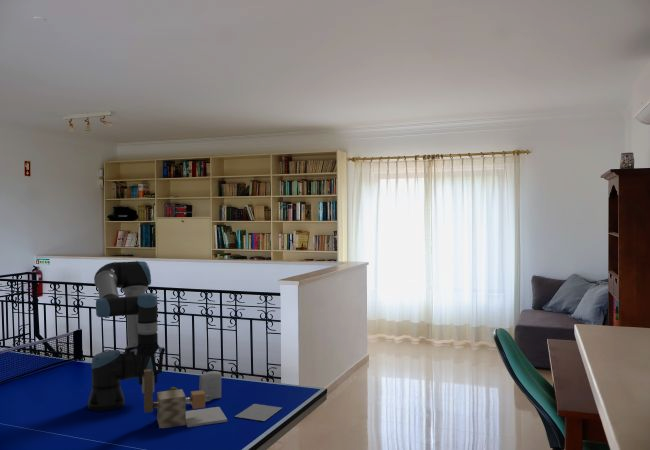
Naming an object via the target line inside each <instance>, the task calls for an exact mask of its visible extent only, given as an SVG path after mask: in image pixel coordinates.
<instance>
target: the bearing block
mask: <svg viewBox="0 0 650 450" xmlns="http://www.w3.org/2000/svg"><path fill="white" fill-rule="evenodd" d="M186 398H187V396H186V394H185V392H184V390H183V388H181V389H180V388H179V389H178V390H171V391H157V392H156V401H159V407H158V408H156V413H157V414H156V416H157V417H156V421H157V424H158V427H159V429H160V428H161V429H166V428H167V429H168V428H174V427H179V426H187V425H186V411H187V409H186V407H187V406H186V405H187V404H186Z"/></svg>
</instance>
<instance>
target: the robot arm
mask: <svg viewBox="0 0 650 450" xmlns="http://www.w3.org/2000/svg"><path fill="white" fill-rule="evenodd" d="M93 277H94V278H93V280H94V281H93V282H94V286H95V287H96V288H97V291H98V296H99V298H97V299H96V301H95V313H96V314H95V315H96V317H97V318H109V317H112V318H114V317H121V316H122V317H123V316H126V331H127V346H126V347H124V352H121V351H120V350H119V349H110V350H105V351H101V352H98V353H97V354H95V355H94V356H93V357H92V359H91V392H90V394H89V398H88V401H87V409H89V411H93V412H94V411H96V412H105V410H106V411H112V410H115V409H118V408H121V407H123V406H124V405H125V403H126V402H125V401H126V398H125V395H124V392H123V390H122V388H121V381H125V380H131V379H138V384H139V385H141V394H144V369H152V380H153V393H155V384H157V383H158V375H159V374H162V372H163V363H164V362H163V361H164V354H165V351H166V349H165V347H164V346H160V345H159V341H158V337H159V335H158V334H159V333H158V303H159V301H158V295H157V294H156V293H155V292H154V293H152V292H147V291H148V289H149V286H151V284H152V276H151V270H150V265H149V264H148V263H147V262H146V261H144V260H143V261H139V260H136V261H135V260H133V261H113V262H109V263H106V264H104V265H102V266H101V267H100V268H99V269H98V270H97V271H96V272H95V275H94V276H93ZM118 287H119V288H121V291H122V292H123V293H124V294H125V296H120V295H119V291H118ZM146 292H147V293H146ZM157 351H158V352H159V353H158V354H159V355H158V356H159V357H158V369H157V366H156V365H157V364H156V359H157V358H156V357H157V354H156V353H157Z"/></svg>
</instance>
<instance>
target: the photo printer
mask: <svg viewBox="0 0 650 450" xmlns="http://www.w3.org/2000/svg"><path fill="white" fill-rule="evenodd" d="M221 373H222V372H220V371H217V370H216V371H215V370H211V371H210V370H209V371H206V372H204V373H202V374H200V375H199V384H198V385H199V387H198V389H199V390H198V391H200V390H203V391H204V393H205V395H211V400H216V399H221V398H222V374H221Z"/></svg>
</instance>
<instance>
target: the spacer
mask: <svg viewBox="0 0 650 450" xmlns="http://www.w3.org/2000/svg"><path fill="white" fill-rule="evenodd" d="M190 397H192V403H190V406H192V410H197V409H204V408H206V401H205V393H204V391H203V390H200V391H199V390H192V391H190Z"/></svg>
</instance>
